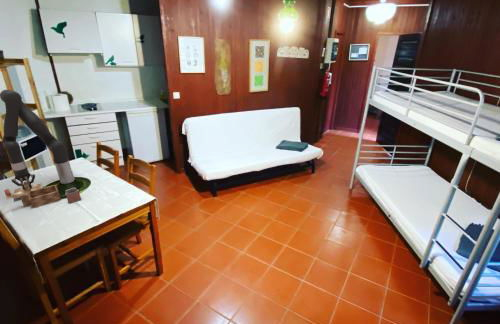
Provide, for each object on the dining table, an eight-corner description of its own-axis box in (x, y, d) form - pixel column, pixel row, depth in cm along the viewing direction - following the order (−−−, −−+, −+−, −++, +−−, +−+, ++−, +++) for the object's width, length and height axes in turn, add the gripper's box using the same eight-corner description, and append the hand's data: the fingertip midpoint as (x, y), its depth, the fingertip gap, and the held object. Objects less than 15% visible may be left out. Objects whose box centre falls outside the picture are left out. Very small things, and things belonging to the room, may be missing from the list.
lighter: (80, 197, 184) (77, 185, 180) (82, 199, 182) (78, 187, 178) (67, 202, 179) (63, 189, 175) (68, 204, 177) (64, 191, 173)
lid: (41, 184, 195) (39, 177, 192) (43, 191, 187) (40, 183, 184) (14, 191, 185) (11, 184, 183) (14, 198, 177) (11, 191, 175)
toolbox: (58, 192, 189) (55, 182, 186) (61, 199, 181) (57, 189, 178) (23, 202, 177) (19, 192, 174) (24, 210, 169) (20, 199, 166)
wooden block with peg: (22, 193, 171) (19, 186, 169) (23, 195, 170) (19, 187, 167) (6, 198, 166) (3, 190, 164) (7, 199, 165) (3, 191, 162)
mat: (44, 186, 196) (44, 186, 196) (46, 193, 188) (45, 192, 188) (13, 194, 186) (13, 193, 185) (13, 201, 178) (13, 201, 177)
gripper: (31, 163, 185) (39, 184, 192) (6, 168, 176) (15, 190, 184) (32, 166, 180) (40, 188, 187) (6, 172, 171) (15, 194, 179)
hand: (27, 189), depth 185 cm, fingers closed on lid, 2 cm apart
